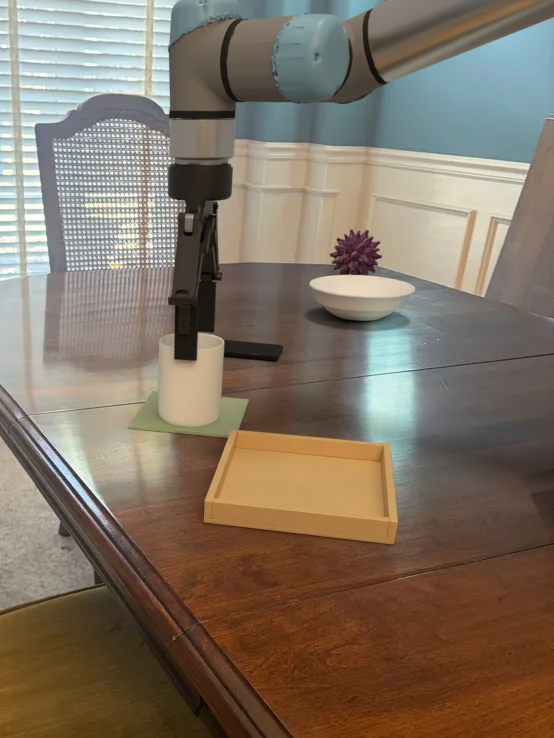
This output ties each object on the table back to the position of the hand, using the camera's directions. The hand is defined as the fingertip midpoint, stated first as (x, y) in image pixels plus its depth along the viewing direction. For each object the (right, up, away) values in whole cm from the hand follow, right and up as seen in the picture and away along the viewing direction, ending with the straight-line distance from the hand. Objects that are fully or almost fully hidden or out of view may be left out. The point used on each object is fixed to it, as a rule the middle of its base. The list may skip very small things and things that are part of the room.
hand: (195, 344), depth 99 cm
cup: (0, -8, +5) cm, 9 cm away
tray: (+11, -20, -15) cm, 27 cm away
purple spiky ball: (+42, +36, +83) cm, 100 cm away
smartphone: (+9, +6, +31) cm, 33 cm away
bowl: (+35, +18, +51) cm, 65 cm away
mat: (0, -8, +5) cm, 10 cm away
